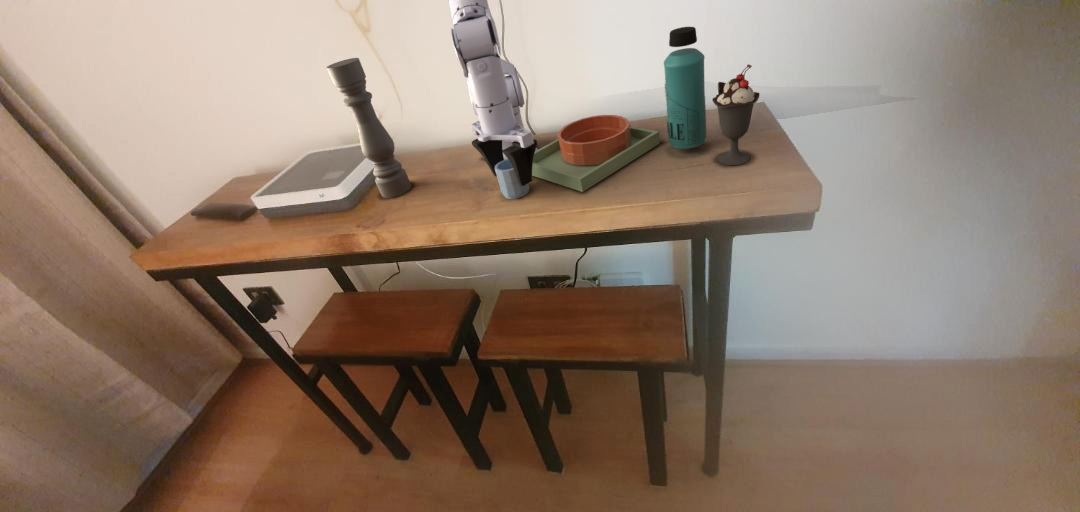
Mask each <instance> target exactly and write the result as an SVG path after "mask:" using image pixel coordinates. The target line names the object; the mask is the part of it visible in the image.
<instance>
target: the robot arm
mask: <svg viewBox="0 0 1080 512" xmlns="http://www.w3.org/2000/svg"><path fill="white" fill-rule="evenodd" d="M448 5H449V10H450V15H451V21H452V26H453V27H450V37H451V41H452V46H453V49H454V52H455V55H456V58H457V60H458V62H459V64H460V67H461V69H462V73H463V75H464V78H466V82H467V86H468V95H469V99H470V102H471V107H472V109H473V112H474V114H475V116H476V117H477V119H478V120H477V121H475V122H473V123H471V124H470V127H471V130H472V133H473V136H477V138H475V139H473V140H472V141H471V145H472V146H473V147H474V148H475V149H476V151H478V153H479V154H480V156H482V158H483V159H484V161H485V163H486V164H487V166H488V168H489V169H490V171H491V173H492V174H493V176H494V177H496V178H497V175H496V172H495V165H496V164H497V163H499V162H501V161H503V160H506V159H509V161H510V163H511V164H512V166H513V168H514V171H515V174H516V177H517V179H518V182H519V183H520V185H521V186H524V185H526V184H528V183H529V184H530V183H531V182H532V180H533V176H532V164H533V157H534V153H535V151H537V150H539V149H538V148H537V147H538V141H537V139H534V136H533V132H532V131H529V130H527V129H526V128H525V127H524V122H523V119H522V118H523V117H522V113H521V108H523V107H524V105H525V99H524V93H523V90H522V84H521V80H520V76H519V74H518V71H517V67H515V65H514V63H512V62H510V61H508V60H505V59H503V58H501V56H502V47H501V43H500V38H499V33H498V29H497V26H496V22H495V20H494V17H493V15H492V12H491V8H490V7H489V1H488V0H448ZM505 75H506V76H505Z"/></svg>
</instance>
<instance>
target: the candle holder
mask: <svg viewBox="0 0 1080 512" xmlns="http://www.w3.org/2000/svg"><path fill="white" fill-rule="evenodd" d="M326 70H327V73H328V75H329V77H330V80H331V82H332V84H333V86H334V87H335V88H337V91H338V92H340V93H341V94H342V96H344V99H343V102H342V103H343V105H344V106H346V107H347V108H348V109H350V111H351V114H352V117H353V118H354V121H355V124H356V127H357V132H358V138H359V142H360V148H361V152H362V155H363V156H364V157H365V158H366V159H368V160H369V161H370V162H371V164H372V165H374V166H373V172H372V173H373V176H374V177H375V179H374V182H375V184H376V187H377V188H378V192H379V193H380V195H381V197H382V198H386V199H391V198H395V197H399V196H401V195H404V194H406V193H407V192H408V191H410V189H411V187H412V184H411V181H410V178H409V176H408V174H407V171H406V169H404V168H403V165H402V162H400V161H398V160H397V159H396V158H395V154H394V153H395V142H394V140H393V138H392V137H391V135H390V133H389V132H388V131H387V129H386V128H385V126H384V125H383V123H382V122H381V121H380V119H379V118H378V116H377V113H376V111H375V109H374V106H373V104H372V98H373V94H372V92H370V91H368V90H367V86H366V85H367V80H366V77H367V75H366V72H365V70H364V68H363V65H362V62H361V61H360V58H359V57H352V58H347V59H342V60H339V61H336V62H333V63H331V64H329V65H327V66H326Z"/></svg>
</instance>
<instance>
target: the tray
mask: <svg viewBox="0 0 1080 512" xmlns="http://www.w3.org/2000/svg"><path fill="white" fill-rule="evenodd" d="M630 131H631V140H632V146H630V147H629V148H627V149H625V150H624V151H622V152H620V153H619V154H617V155H615V156H614V157H612V158H611V159H609V160H607V161H606V162H604V163H602V164H598V165H589V166H580V165H573V164H569V163H567V162H565V161H564V160H563V159H562V156H561V151H560V145H559V141H558V138H557V139H555V140H554V141H552V142H550V143H547V144H545V145H544V146H542V147H540V148H539V149H538V150H537V151H535V153H534V157H533V164H532V177H536V178H539V179H541V180H544V181H548V182H551V183H554V184H556V185H557V184H558V185H560V186H563V187H566V188H570V189H572V190H574V191H575V190H576V191H579V192H582V193H583V192H585V191H586V190H588V189H590V188H591V187H593V186H595V185H597V184H598V183H599V182H601V181H603V180H604V179H606V178H607V177H609V176H610V175H612V174H614V173H615V172H617V171H618V170H620V169H622V168H623V167H625V166H626V165H628V164H630V163H631V162H633V161H634V160H636V159H638V158H639V157H641V156H642V155H644V154H646V153H647V152H649V151H651V150H652V149H654V148H655V147H657V146H659V145H660V144H661V142H660V139H661V138H660V131H659V130H658V131H657V130H654V129H647V128H642V127H636V126H630Z"/></svg>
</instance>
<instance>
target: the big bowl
mask: <svg viewBox="0 0 1080 512" xmlns="http://www.w3.org/2000/svg"><path fill="white" fill-rule="evenodd" d="M630 127H631V123H630V121H629V119H628V118H626V117H624V116H621V115H617V114H600V115H598V114H597V115H591V116H588V117H583V118H580V119H577V120H574V121H572V122H570V123H568V124H566V125H564V126H563V127H562V128H561V129H560V130H559V131H558V133H557V139H558V141H559V145H560V151H561V156H562V159H563V160H564V161H565V162H567V163H569V164H573V165H580V166H589V165H598V164H602V163H604V162H606V161H607V160H609V159H611V158H612V157H614V156H615V155H617V154H619V153H620V152H622V151H624V150H625V149H627V148H629V147H630V146H632V140H631V131H630Z"/></svg>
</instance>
